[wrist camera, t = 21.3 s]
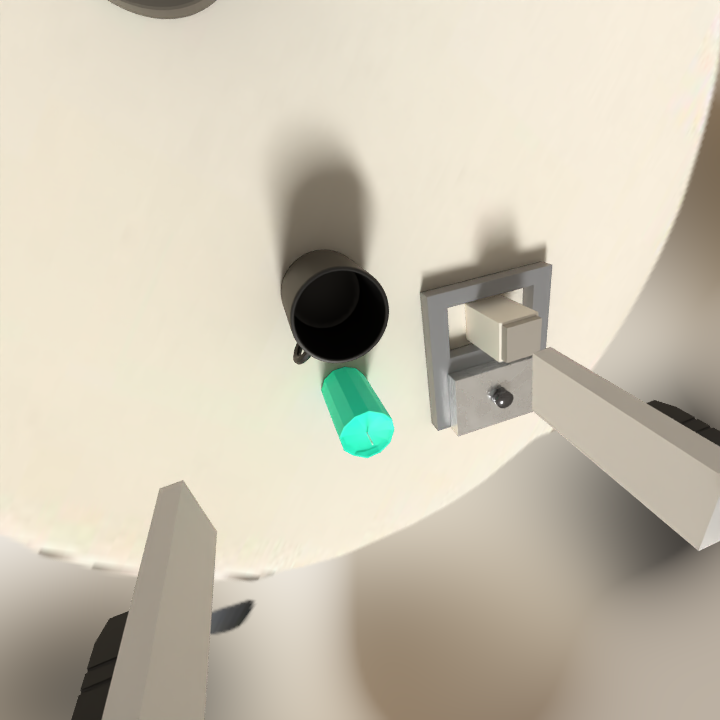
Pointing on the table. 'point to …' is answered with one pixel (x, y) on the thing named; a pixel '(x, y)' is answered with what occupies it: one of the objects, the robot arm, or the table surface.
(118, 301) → the table surface
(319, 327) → the mug
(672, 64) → the table surface
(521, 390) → the panel
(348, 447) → the candle
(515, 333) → the plug
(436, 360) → the grey flat frame
